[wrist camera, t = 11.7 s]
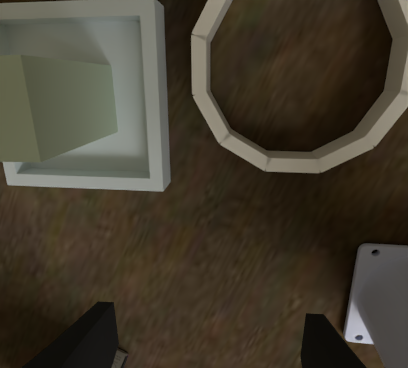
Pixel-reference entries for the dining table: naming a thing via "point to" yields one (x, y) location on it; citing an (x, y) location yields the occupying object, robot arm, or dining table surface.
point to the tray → (122, 82)
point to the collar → (332, 152)
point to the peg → (52, 106)
